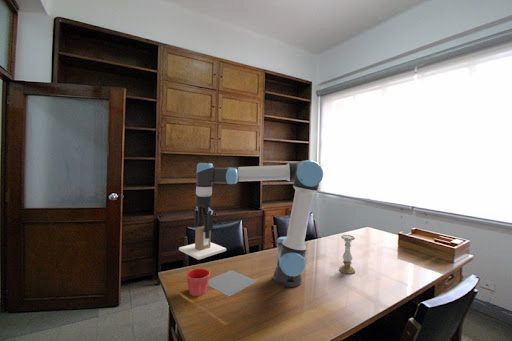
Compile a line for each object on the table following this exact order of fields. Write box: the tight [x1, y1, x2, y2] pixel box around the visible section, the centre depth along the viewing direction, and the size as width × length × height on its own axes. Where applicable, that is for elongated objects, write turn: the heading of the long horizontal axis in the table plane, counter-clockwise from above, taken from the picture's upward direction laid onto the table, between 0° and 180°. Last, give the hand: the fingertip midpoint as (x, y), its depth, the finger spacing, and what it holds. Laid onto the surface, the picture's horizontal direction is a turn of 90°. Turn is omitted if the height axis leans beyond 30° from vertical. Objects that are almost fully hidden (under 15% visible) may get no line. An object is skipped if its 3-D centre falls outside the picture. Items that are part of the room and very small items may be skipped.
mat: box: [208, 269, 258, 297], centre depth 127 cm, size 20×20×1 cm
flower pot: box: [186, 268, 211, 297], centre depth 117 cm, size 11×11×10 cm
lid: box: [178, 225, 227, 261], centre depth 118 cm, size 16×16×11 cm
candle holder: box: [338, 234, 356, 275], centre depth 144 cm, size 9×9×20 cm
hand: (202, 243), depth 118 cm, fingers closed on lid, 4 cm apart
